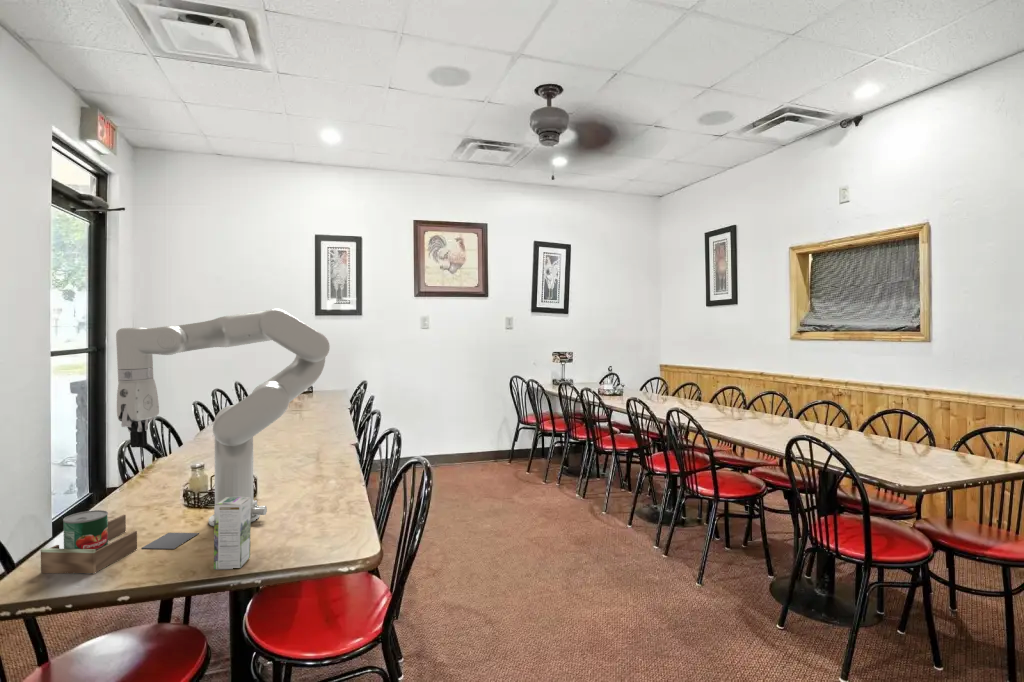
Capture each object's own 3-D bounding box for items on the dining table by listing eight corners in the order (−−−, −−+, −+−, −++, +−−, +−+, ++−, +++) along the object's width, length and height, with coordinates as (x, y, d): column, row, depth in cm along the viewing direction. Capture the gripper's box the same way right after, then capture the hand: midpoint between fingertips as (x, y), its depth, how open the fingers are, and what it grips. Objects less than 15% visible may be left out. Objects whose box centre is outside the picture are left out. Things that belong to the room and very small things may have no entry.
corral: (167, 532, 142) (167, 513, 142) (93, 573, 118) (93, 550, 118) (123, 531, 142) (123, 512, 142) (40, 572, 118) (40, 549, 118)
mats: (199, 533, 141) (199, 533, 141) (149, 564, 123) (149, 563, 123) (110, 532, 142) (110, 531, 142) (47, 562, 123) (47, 561, 123)
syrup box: (224, 559, 126) (224, 496, 125) (251, 558, 126) (251, 495, 126) (213, 570, 120) (212, 504, 120) (241, 569, 120) (240, 503, 120)
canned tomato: (80, 557, 126) (79, 510, 126) (116, 556, 127) (115, 509, 127) (54, 573, 118) (53, 522, 118) (93, 571, 119) (92, 521, 119)
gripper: (131, 378, 133) (134, 453, 134) (168, 372, 148) (171, 440, 149) (99, 379, 133) (103, 454, 134) (140, 373, 148) (143, 440, 149)
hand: (139, 446), depth 141 cm, fingers closed
